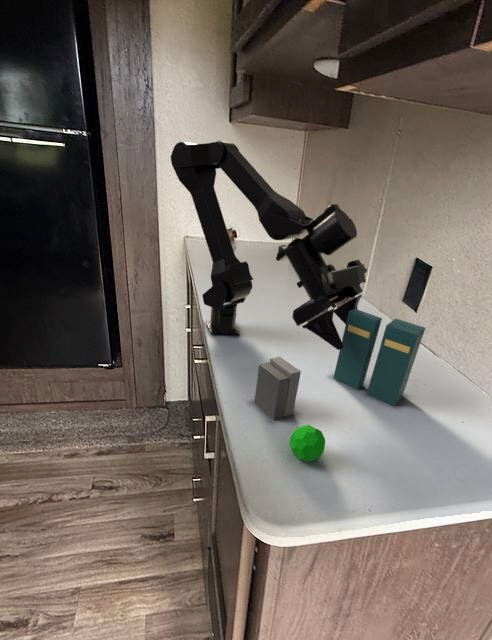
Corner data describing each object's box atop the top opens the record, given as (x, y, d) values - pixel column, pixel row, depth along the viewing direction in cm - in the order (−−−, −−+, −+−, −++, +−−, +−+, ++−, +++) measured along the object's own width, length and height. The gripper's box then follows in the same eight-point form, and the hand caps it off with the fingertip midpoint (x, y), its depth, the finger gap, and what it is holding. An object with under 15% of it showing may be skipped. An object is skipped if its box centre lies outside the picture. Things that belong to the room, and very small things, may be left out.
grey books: (254, 402, 67) (259, 360, 63) (273, 397, 69) (279, 356, 65) (273, 420, 63) (280, 376, 59) (293, 413, 65) (301, 371, 62)
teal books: (366, 394, 74) (386, 325, 67) (375, 384, 78) (395, 318, 71) (394, 406, 72) (418, 335, 65) (402, 395, 76) (425, 327, 69)
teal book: (333, 378, 78) (348, 311, 71) (339, 374, 80) (355, 308, 73) (357, 389, 75) (376, 321, 69) (363, 385, 77) (382, 318, 70)
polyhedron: (301, 472, 53) (308, 444, 51) (280, 451, 57) (285, 424, 54) (328, 461, 56) (335, 434, 54) (306, 441, 59) (312, 415, 57)
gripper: (321, 250, 62) (368, 337, 63) (364, 240, 76) (403, 311, 77) (272, 285, 69) (316, 363, 70) (321, 270, 83) (356, 335, 84)
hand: (351, 341), depth 75 cm, fingers open, 9 cm apart
